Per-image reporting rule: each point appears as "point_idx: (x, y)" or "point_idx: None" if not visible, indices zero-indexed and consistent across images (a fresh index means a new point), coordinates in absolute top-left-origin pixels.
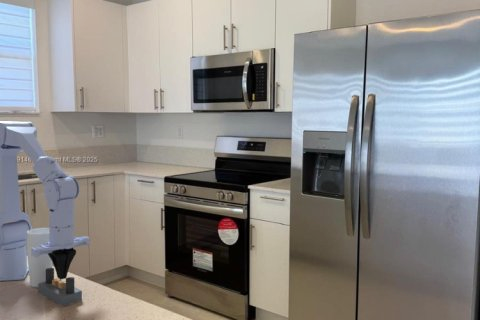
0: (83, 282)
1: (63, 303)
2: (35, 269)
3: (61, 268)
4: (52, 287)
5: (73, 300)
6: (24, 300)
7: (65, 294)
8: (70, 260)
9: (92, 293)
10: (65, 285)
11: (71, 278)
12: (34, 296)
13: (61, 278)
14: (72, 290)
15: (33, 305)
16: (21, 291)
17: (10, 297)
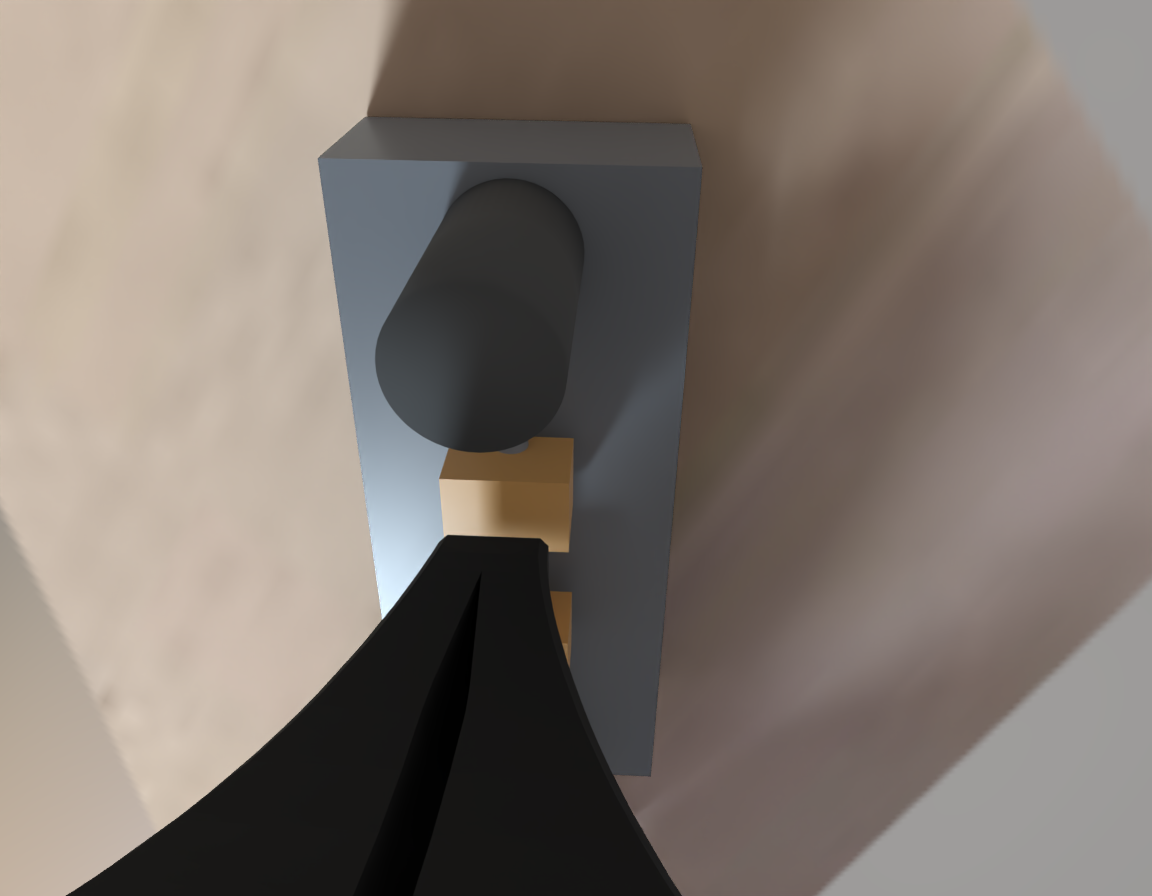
0: (110, 587)
1: (688, 136)
2: None
3: (558, 690)
4: (600, 583)
5: (508, 130)
6: (862, 628)
7: (617, 226)
8: (260, 802)
9: (129, 217)
10: (484, 453)
11: (444, 355)
12: (728, 640)
13: (545, 550)
14: (496, 197)
15: (898, 456)
16: (735, 801)
17: (892, 763)
